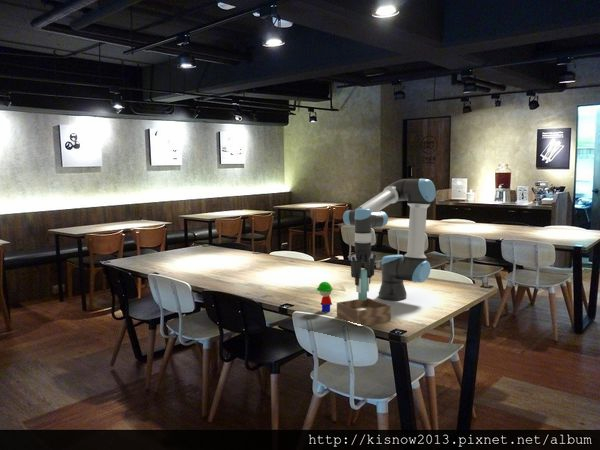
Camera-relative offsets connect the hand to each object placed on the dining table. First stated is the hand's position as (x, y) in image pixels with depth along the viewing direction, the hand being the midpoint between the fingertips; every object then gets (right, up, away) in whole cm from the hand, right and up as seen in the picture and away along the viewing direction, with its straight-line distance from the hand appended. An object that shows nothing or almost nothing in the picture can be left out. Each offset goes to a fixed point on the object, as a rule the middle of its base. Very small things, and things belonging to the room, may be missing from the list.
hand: (362, 291), depth 231 cm
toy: (-17, -12, +15) cm, 26 cm away
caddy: (0, -13, +2) cm, 13 cm away
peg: (0, -4, 0) cm, 4 cm away
